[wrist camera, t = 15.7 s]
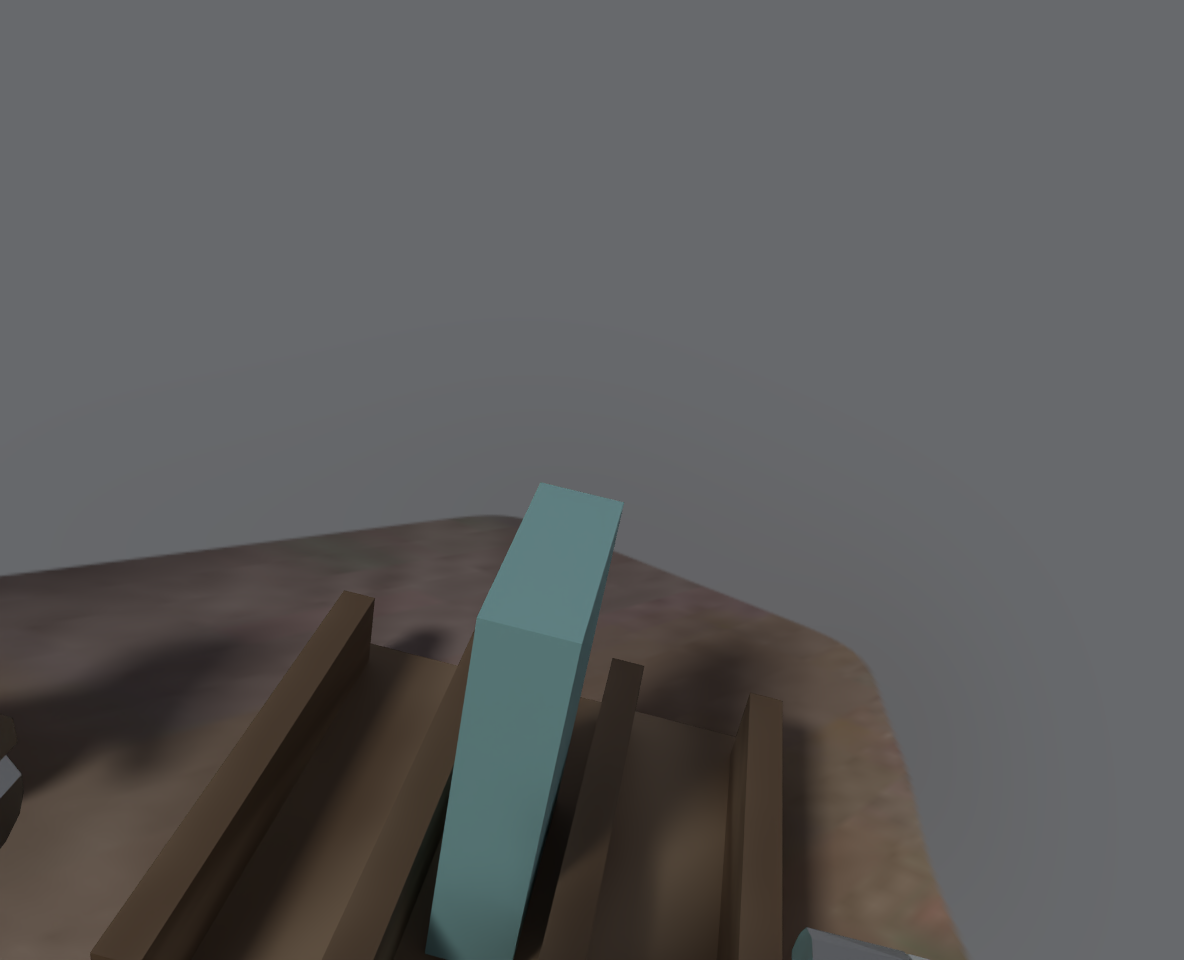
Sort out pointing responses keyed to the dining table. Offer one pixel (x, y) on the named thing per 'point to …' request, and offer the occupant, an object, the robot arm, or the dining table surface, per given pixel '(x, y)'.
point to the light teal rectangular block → (519, 721)
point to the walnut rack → (417, 818)
